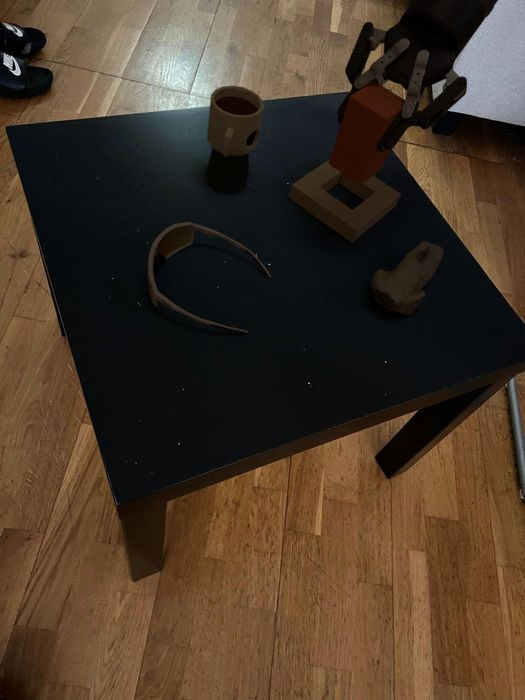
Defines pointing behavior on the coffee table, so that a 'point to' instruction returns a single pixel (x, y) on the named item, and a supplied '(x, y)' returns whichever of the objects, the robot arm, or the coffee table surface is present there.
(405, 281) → the sculpture
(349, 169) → the post
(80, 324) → the coffee table surface
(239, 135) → the character mug
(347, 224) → the base pad
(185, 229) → the sunglasses
